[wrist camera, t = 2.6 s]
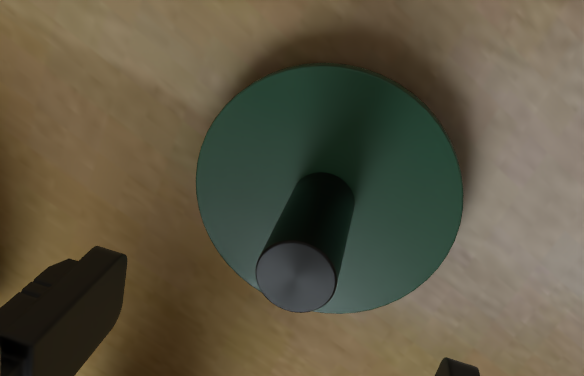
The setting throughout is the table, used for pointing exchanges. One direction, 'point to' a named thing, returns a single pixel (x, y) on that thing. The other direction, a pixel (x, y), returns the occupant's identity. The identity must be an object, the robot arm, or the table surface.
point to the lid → (329, 188)
